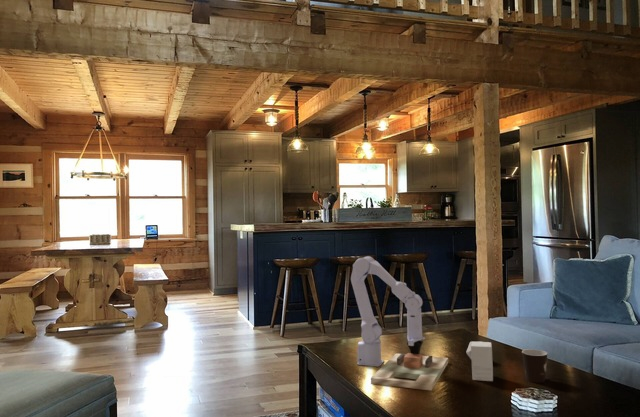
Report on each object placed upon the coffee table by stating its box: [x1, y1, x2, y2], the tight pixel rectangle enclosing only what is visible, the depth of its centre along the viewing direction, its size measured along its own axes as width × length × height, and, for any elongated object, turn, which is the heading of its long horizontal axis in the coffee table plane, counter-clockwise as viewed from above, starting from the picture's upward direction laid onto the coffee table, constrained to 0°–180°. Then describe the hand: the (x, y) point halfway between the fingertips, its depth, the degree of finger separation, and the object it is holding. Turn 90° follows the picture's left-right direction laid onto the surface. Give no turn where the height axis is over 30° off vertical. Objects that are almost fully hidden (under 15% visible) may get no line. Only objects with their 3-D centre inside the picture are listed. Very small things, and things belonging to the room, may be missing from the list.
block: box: [404, 352, 424, 369], centre depth 196 cm, size 6×6×4 cm
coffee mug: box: [521, 348, 548, 384], centre depth 184 cm, size 12×9×10 cm
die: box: [465, 341, 483, 361], centre depth 208 cm, size 8×9×10 cm
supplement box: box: [471, 341, 494, 382], centre depth 187 cm, size 7×7×13 cm
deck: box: [370, 353, 449, 391], centre depth 195 cm, size 22×35×4 cm, turn 157°
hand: (415, 359), depth 200 cm, fingers closed
